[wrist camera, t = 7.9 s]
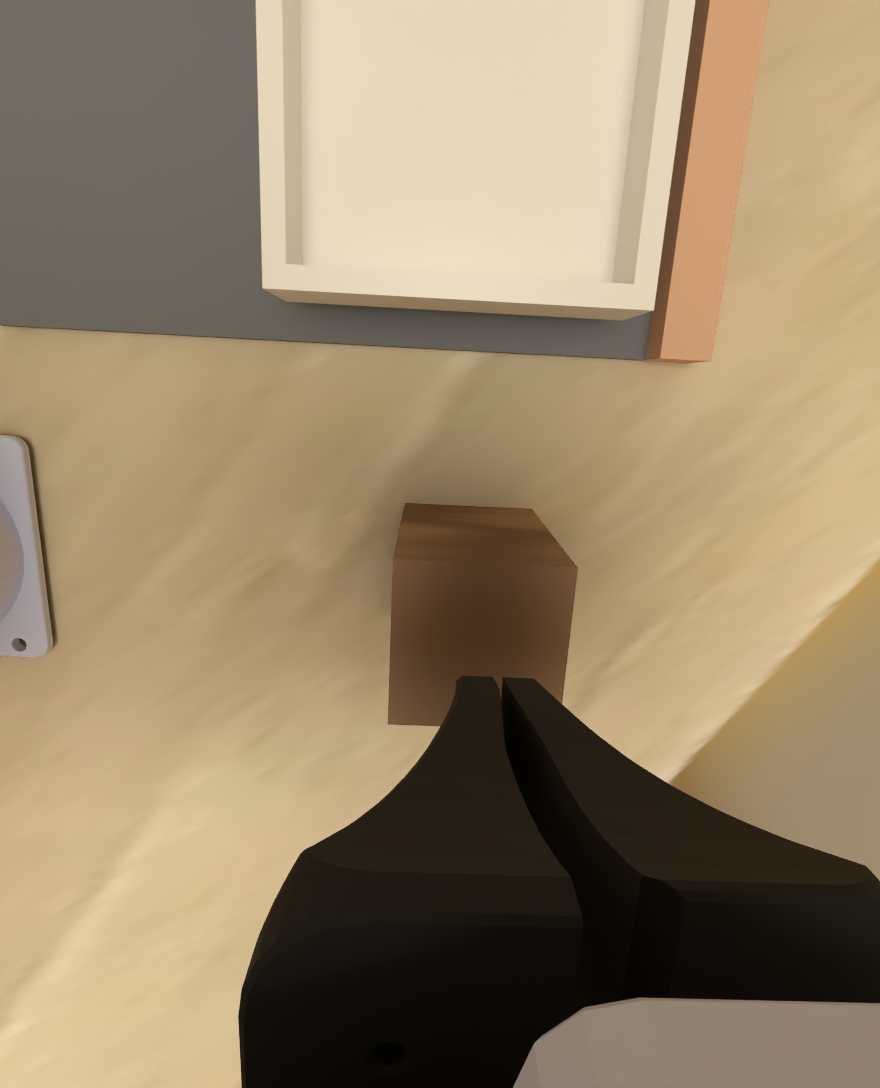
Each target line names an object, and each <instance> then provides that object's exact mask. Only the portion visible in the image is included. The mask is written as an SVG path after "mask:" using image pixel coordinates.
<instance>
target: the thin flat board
mask: <svg viewBox="0 0 880 1088" xmlns="http://www.w3.org/2000/svg"><path fill="white" fill-rule="evenodd" d="M768 4H769V0H695V8H694V15H693V23H692V30H691V38H690V45H689V53H688V60H687V67H686V75H685V82H684V90H683V97H682V105H681V112H680V120H679V127H678V134H677V142H676V149H675V157H674V164H673V172H672V179H671V187H670V194H669V201H668V209H667V216H666V224H665V231H664V239H663V246H662V254H661V261H660V269H659V276H658V283H657V291H656V298H655V306H654V311H651V312H648V313H645V314H642V315H639V316H635V317H632V318H629V319H626V320H623V321H620V320H602V319H585V318H567V317H549V316H531V315H513V314H495V313H478V312H460V311H442V310H424V309H406V308H389V307H371V306H353V305H335V304H317V303H300V302H286V301H284V300H282V299H281V298H279V297H277V296H275V295H273V294H272V293H270V292H268V291H266V290H264V289H263V288H262V249H261V207H260V165H259V123H258V81H257V39H256V0H0V325H2V326H20V327H38V328H57V329H75V330H93V331H112V332H130V333H149V334H167V335H185V336H204V337H222V338H241V339H259V340H278V341H296V342H314V343H333V344H351V345H370V346H388V347H406V348H425V349H443V350H462V351H480V352H498V353H517V354H535V355H554V356H572V357H590V358H609V359H627V360H646V361H664V362H682V363H695V362H708V361H711V359H712V353H713V346H714V340H715V334H716V328H717V322H718V315H719V309H720V303H721V297H722V290H723V284H724V278H725V272H726V266H727V259H728V253H729V247H730V241H731V234H732V228H733V222H734V216H735V210H736V203H737V197H738V191H739V185H740V178H741V172H742V166H743V160H744V154H745V147H746V141H747V135H748V129H749V122H750V116H751V110H752V104H753V98H754V91H755V85H756V79H757V73H758V66H759V60H760V54H761V48H762V42H763V35H764V29H765V23H766V17H767V10H768Z"/></svg>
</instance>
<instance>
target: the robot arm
mask: <svg viewBox="0 0 880 1088" xmlns="http://www.w3.org/2000/svg"><path fill="white" fill-rule="evenodd" d="M19 638H20V639H23V640H24V641H25V642H26V645H27V646H23V645H22V644H21V643H20V641H19ZM52 647H53V637H52V630H51V622H50V614H49V606H48V598H47V590H46V582H45V574H44V566H43V558H42V550H41V542H40V534H39V526H38V518H37V510H36V502H35V494H34V486H33V478H32V470H31V462H30V454H29V449H28V446H27V444H26V443H25V442H24V440H22V439H21V438H19V437H17V436H13V435H0V656H14V657H41V656H43V655H44V654H46V653H47V652H49V651H50V650H51V648H52ZM238 1018H239V1038H240V1058H241V1079H242V1088H880V881H879V880H878V879H877V877H876V876H875V875H874V874H873V873H872V872H871V871H870V870H869V869H868V868H867V867H866V866H864V865H861V864H858V863H856V862H852V861H850V860H847V859H844V858H840V857H838V856H834V855H832V854H828V853H825V852H822V851H820V850H816V849H814V848H811V847H807V846H805V845H802V844H799V843H796V842H793V841H790V840H787V839H784V838H782V837H780V836H777V835H774V834H772V833H770V832H767V831H765V830H762V829H760V828H758V827H755V826H753V825H750V824H748V823H746V822H743V821H741V820H739V819H736V818H734V817H732V816H730V815H728V814H726V813H723V812H721V811H719V810H717V809H715V808H713V807H711V806H709V805H707V804H705V803H703V802H701V801H699V800H697V799H695V798H693V797H692V796H690V795H688V794H686V793H684V792H682V791H680V790H678V789H676V788H675V787H673V786H671V785H670V784H668V783H666V782H664V781H663V780H661V779H660V778H658V777H656V776H655V775H653V774H652V773H650V772H648V771H647V770H645V769H644V768H642V767H641V766H639V765H637V764H636V763H634V762H633V761H632V760H630V759H629V758H627V757H626V756H624V755H623V754H622V753H620V752H619V751H618V750H616V749H615V748H614V747H612V746H611V745H610V744H608V743H607V742H606V741H604V740H603V739H602V738H600V737H599V736H598V735H597V734H596V733H594V732H593V731H592V730H591V729H589V728H588V727H587V726H586V725H585V724H584V723H582V722H581V721H580V720H579V719H578V718H577V717H575V716H574V715H573V714H572V713H571V712H570V711H569V710H568V709H567V708H565V707H564V706H563V705H562V704H561V703H560V702H559V701H558V700H557V699H556V698H555V697H554V696H552V695H551V694H550V693H549V692H548V691H547V690H546V689H545V688H544V687H543V686H542V685H541V684H540V683H538V682H537V681H536V680H535V679H533V678H511V677H502V689H501V699H500V690H499V687H498V685H497V683H496V681H495V680H494V678H493V677H485V676H461V677H460V678H459V679H457V680H456V689H455V695H454V698H453V701H452V704H451V706H450V709H449V711H448V713H447V715H446V717H445V719H444V721H443V723H442V725H441V727H440V729H439V730H438V732H437V734H436V735H435V737H434V738H433V740H432V742H431V743H430V745H429V747H428V748H427V750H426V751H425V752H424V754H423V755H422V756H421V758H420V759H419V760H418V762H417V763H416V764H415V765H414V767H413V768H412V769H411V770H410V771H409V773H408V774H407V775H406V776H405V777H404V778H403V779H402V780H401V781H400V782H399V783H398V784H397V785H396V787H395V788H394V789H393V790H392V791H391V792H390V793H389V794H388V795H387V796H385V797H384V798H383V799H382V800H381V801H380V802H379V803H378V804H376V805H375V806H374V807H373V808H371V809H370V810H369V811H367V812H366V813H365V814H364V815H362V816H361V817H360V818H358V819H357V820H356V821H354V822H353V823H351V824H350V825H348V826H347V827H345V828H343V829H342V830H340V831H338V832H336V833H335V834H333V835H331V836H329V837H327V838H326V839H324V840H322V841H320V842H319V843H317V844H315V845H313V846H311V847H309V848H307V849H305V850H304V851H303V852H302V853H301V854H300V855H299V857H298V859H297V860H296V862H295V864H294V866H293V867H292V869H291V871H290V873H289V874H288V876H287V878H286V880H285V881H284V883H283V885H282V887H281V889H280V891H279V893H278V895H277V897H276V899H275V901H274V903H273V905H272V907H271V909H270V912H269V914H268V916H267V918H266V920H265V922H264V925H263V927H262V930H261V932H260V935H259V937H258V940H257V943H256V946H255V949H254V952H253V955H252V958H251V962H250V965H249V968H248V971H247V974H246V978H245V981H244V984H243V987H242V992H241V1000H240V1008H239V1016H238Z"/></svg>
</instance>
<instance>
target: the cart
mask: <svg viewBox="0 0 880 1088" xmlns="http://www.w3.org/2000/svg"><path fill="white" fill-rule="evenodd" d="M694 8H695V0H256V39H257V81H258V123H259V165H260V207H261V249H262V288H263V289H264V290H266V291H268V292H270V293H272V294H273V295H275V296H277V297H279V298H281V299H282V300H284V301H286V302H300V303H317V304H335V305H353V306H371V307H389V308H406V309H424V310H442V311H460V312H478V313H495V314H513V315H531V316H549V317H567V318H585V319H602V320H620V321H623V320H626V319H629V318H632V317H635V316H639V315H642V314H645V313H648V312H651V311H654V306H655V298H656V291H657V283H658V276H659V269H660V261H661V254H662V246H663V239H664V231H665V224H666V216H667V209H668V201H669V194H670V187H671V179H672V172H673V164H674V157H675V149H676V142H677V134H678V127H679V120H680V112H681V105H682V97H683V90H684V82H685V75H686V67H687V60H688V53H689V45H690V38H691V30H692V23H693V15H694Z"/></svg>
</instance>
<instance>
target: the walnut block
mask: <svg viewBox="0 0 880 1088" xmlns="http://www.w3.org/2000/svg"><path fill="white" fill-rule="evenodd" d="M577 569H578V567H577V566H576V565H575V564H574V562H573V561H572V560H571V559H570V557H569V556H568V555H567V554H566V552H565V551H564V550H563V549H562V547H561V546H560V545H559V543H558V542H557V541H556V540H555V538H554V537H553V536H552V535H551V533H550V532H549V531H548V530H547V528H546V527H545V526H544V524H543V523H542V522H541V521H540V519H539V518H538V517H537V516H536V514H535V513H534V512H533V511H532V509H517V508H496V507H474V506H453V505H432V504H411V503H405V506H404V511H403V516H402V520H401V525H400V530H399V534H398V539H397V544H396V548H395V553H394V558H393V580H392V611H391V642H390V674H389V705H388V724H394V725H421V726H441V725H442V723H443V721H444V719H445V717H446V715H447V713H448V711H449V709H450V706H451V704H452V701H453V698H454V695H455V689H456V680H457V679H459V678H460V677H461V676H485V677H493V678H494V680H495V681H496V683H497V685H498V687H499V690H500V699H501V689H502V677H511V678H533V679H535V680H536V681H537V682H538V683H540V684H541V685H542V686H543V687H544V688H545V689H546V690H547V691H548V692H549V693H550V694H551V695H552V696H554V697H555V698H556V699H557V700H558V701H559V702H560V703H561V704H562V699H563V690H564V681H565V673H566V664H567V656H568V647H569V638H570V630H571V621H572V612H573V604H574V595H575V586H576V578H577Z"/></svg>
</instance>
